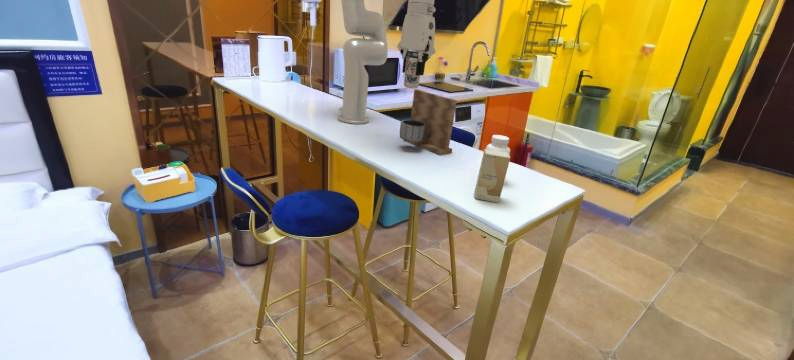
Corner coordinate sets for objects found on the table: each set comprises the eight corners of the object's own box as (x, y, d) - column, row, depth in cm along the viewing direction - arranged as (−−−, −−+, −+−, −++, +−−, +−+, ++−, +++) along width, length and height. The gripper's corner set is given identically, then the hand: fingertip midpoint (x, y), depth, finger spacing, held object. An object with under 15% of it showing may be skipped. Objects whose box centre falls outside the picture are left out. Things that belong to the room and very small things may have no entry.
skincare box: (474, 199, 96) (484, 153, 92) (473, 192, 100) (483, 147, 96) (500, 203, 96) (511, 157, 91) (498, 196, 100) (509, 151, 95)
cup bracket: (383, 142, 132) (389, 90, 126) (414, 138, 142) (421, 89, 135) (420, 159, 120) (428, 102, 114) (451, 153, 130) (460, 100, 123)
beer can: (402, 87, 119) (407, 47, 115) (404, 85, 124) (408, 46, 119) (418, 89, 119) (423, 48, 115) (418, 87, 124) (423, 48, 119)
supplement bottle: (481, 173, 114) (490, 132, 110) (504, 179, 112) (514, 136, 108) (477, 180, 109) (487, 137, 104) (501, 186, 107) (511, 142, 102)
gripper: (450, 13, 111) (441, 78, 118) (407, 10, 121) (400, 69, 128) (435, 10, 105) (426, 78, 112) (390, 7, 116) (385, 69, 122)
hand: (412, 73), depth 120 cm, fingers closed on beer can, 4 cm apart
